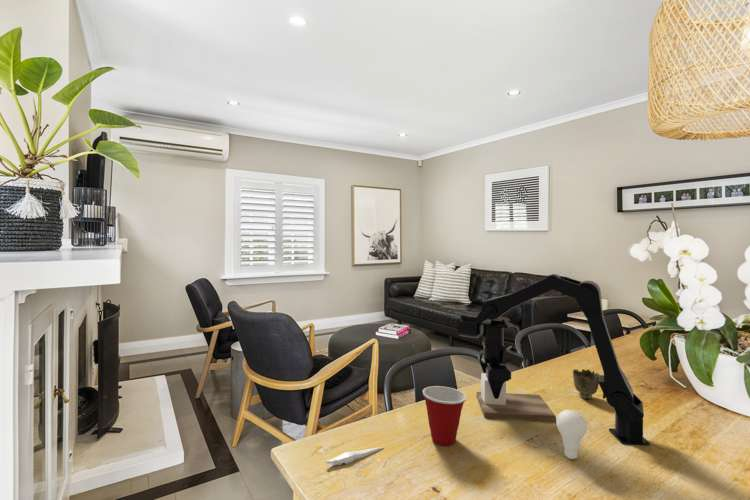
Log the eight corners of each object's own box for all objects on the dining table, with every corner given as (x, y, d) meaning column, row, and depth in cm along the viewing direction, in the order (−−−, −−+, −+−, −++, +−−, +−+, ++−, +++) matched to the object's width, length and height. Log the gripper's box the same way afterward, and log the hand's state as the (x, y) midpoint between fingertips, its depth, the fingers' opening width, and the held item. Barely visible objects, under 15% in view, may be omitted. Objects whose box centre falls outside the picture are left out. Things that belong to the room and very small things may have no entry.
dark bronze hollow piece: (592, 393, 121) (593, 368, 121) (604, 403, 114) (604, 377, 114) (568, 392, 122) (568, 368, 122) (578, 402, 114) (578, 376, 114)
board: (555, 421, 103) (555, 415, 103) (484, 417, 105) (484, 412, 105) (539, 399, 116) (539, 394, 116) (476, 396, 119) (476, 392, 119)
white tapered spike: (328, 471, 81) (328, 462, 81) (323, 465, 83) (323, 456, 83) (387, 453, 88) (387, 445, 88) (381, 448, 91) (381, 441, 91)
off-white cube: (505, 404, 109) (505, 381, 109) (484, 403, 110) (484, 380, 110) (501, 396, 115) (501, 373, 115) (481, 395, 116) (481, 373, 116)
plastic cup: (476, 443, 91) (476, 394, 91) (442, 457, 86) (443, 405, 85) (445, 424, 101) (445, 380, 100) (413, 436, 95) (413, 389, 95)
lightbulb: (559, 448, 89) (560, 402, 89) (588, 457, 85) (589, 409, 85) (552, 459, 85) (553, 411, 84) (583, 470, 81) (583, 420, 80)
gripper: (530, 350, 102) (530, 407, 102) (513, 333, 121) (512, 381, 121) (488, 349, 103) (488, 405, 104) (477, 332, 122) (477, 380, 122)
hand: (493, 392), depth 113 cm, fingers open, 9 cm apart
